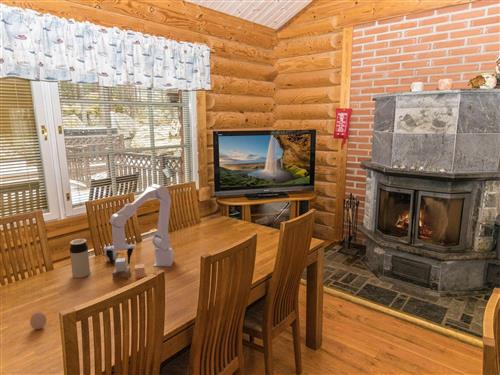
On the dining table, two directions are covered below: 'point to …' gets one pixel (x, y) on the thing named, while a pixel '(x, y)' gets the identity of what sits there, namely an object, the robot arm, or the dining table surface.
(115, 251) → the pale grey round lump
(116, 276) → the walnut base
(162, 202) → the robot arm
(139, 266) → the terracotta block
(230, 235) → the dining table surface
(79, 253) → the travel mug
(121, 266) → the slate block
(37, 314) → the egg
